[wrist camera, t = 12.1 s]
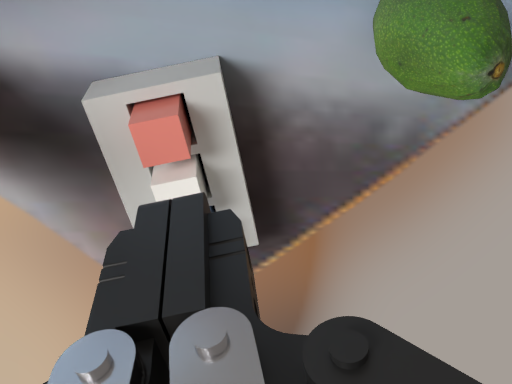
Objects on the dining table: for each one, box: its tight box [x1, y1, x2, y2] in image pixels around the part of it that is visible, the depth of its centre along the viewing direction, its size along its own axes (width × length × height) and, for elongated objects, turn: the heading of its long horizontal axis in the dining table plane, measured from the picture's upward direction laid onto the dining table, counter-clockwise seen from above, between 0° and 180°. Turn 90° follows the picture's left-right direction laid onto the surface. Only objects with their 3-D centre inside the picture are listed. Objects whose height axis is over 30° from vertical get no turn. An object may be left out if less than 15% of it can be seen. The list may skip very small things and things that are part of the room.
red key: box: [128, 93, 191, 168], centre depth 33 cm, size 3×3×4 cm
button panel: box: [81, 56, 259, 247], centre depth 38 cm, size 10×16×4 cm, turn 10°
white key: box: [151, 154, 206, 202], centre depth 36 cm, size 3×3×4 cm
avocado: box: [373, 0, 512, 100], centre depth 30 cm, size 8×8×12 cm
